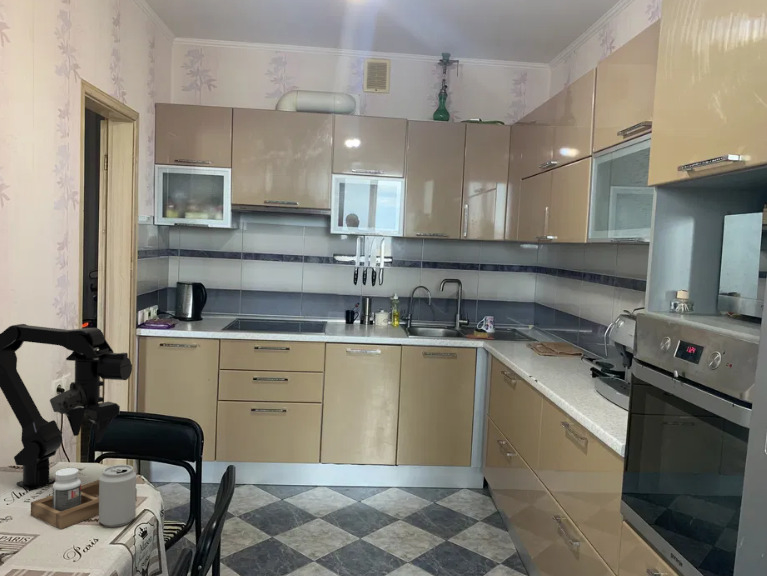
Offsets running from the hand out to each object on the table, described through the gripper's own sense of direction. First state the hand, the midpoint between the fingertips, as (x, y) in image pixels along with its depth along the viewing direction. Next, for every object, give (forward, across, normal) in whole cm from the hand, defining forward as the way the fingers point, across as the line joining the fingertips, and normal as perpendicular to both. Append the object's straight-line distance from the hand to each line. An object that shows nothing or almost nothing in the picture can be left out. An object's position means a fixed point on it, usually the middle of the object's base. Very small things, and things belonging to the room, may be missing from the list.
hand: (86, 438), depth 146 cm
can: (+13, +23, -7) cm, 27 cm away
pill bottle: (+13, +11, -11) cm, 20 cm away
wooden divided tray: (+12, +11, -7) cm, 18 cm away
